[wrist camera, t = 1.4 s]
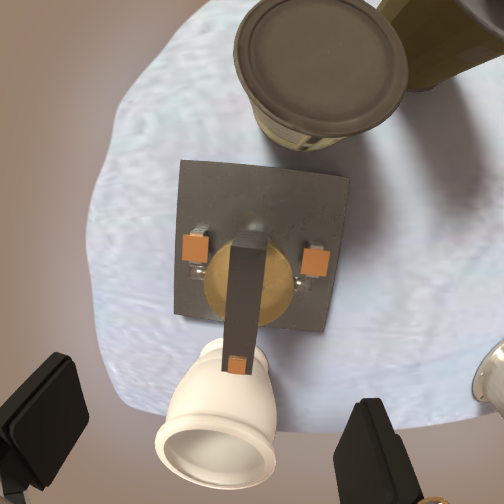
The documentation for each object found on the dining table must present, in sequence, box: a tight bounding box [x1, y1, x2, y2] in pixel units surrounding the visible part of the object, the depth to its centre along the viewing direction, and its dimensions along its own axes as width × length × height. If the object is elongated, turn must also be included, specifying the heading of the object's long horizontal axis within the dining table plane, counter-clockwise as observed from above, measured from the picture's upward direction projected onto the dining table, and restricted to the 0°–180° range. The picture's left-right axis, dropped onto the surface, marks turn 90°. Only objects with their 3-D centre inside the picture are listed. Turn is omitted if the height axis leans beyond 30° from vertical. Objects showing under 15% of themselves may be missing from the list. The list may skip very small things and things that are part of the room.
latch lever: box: [188, 229, 313, 375], centre depth 19 cm, size 9×8×7 cm
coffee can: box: [233, 0, 408, 152], centre depth 21 cm, size 10×10×14 cm
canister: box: [376, 0, 504, 92], centre depth 15 cm, size 11×10×20 cm
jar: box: [155, 338, 277, 489], centre depth 29 cm, size 11×10×15 cm
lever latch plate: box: [174, 160, 350, 332], centre depth 27 cm, size 16×16×9 cm
